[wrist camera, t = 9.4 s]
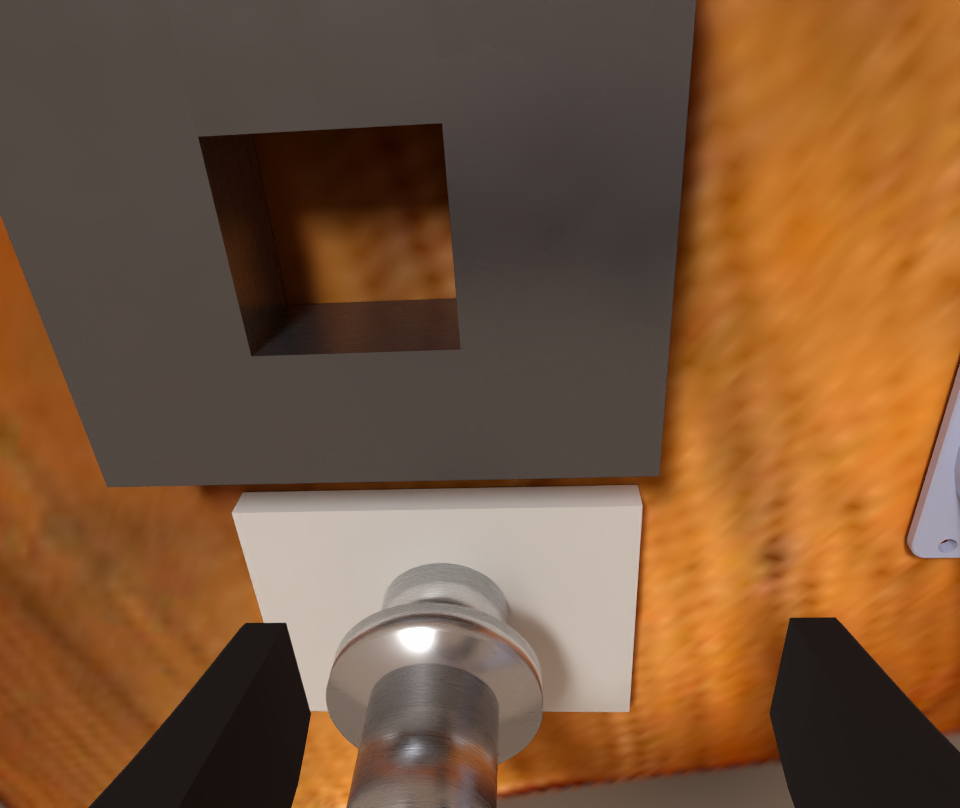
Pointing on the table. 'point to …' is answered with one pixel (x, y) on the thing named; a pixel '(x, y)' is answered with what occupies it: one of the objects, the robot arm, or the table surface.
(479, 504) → the mat
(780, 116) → the table surface
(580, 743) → the table surface
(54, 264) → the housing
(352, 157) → the table surface
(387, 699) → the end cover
